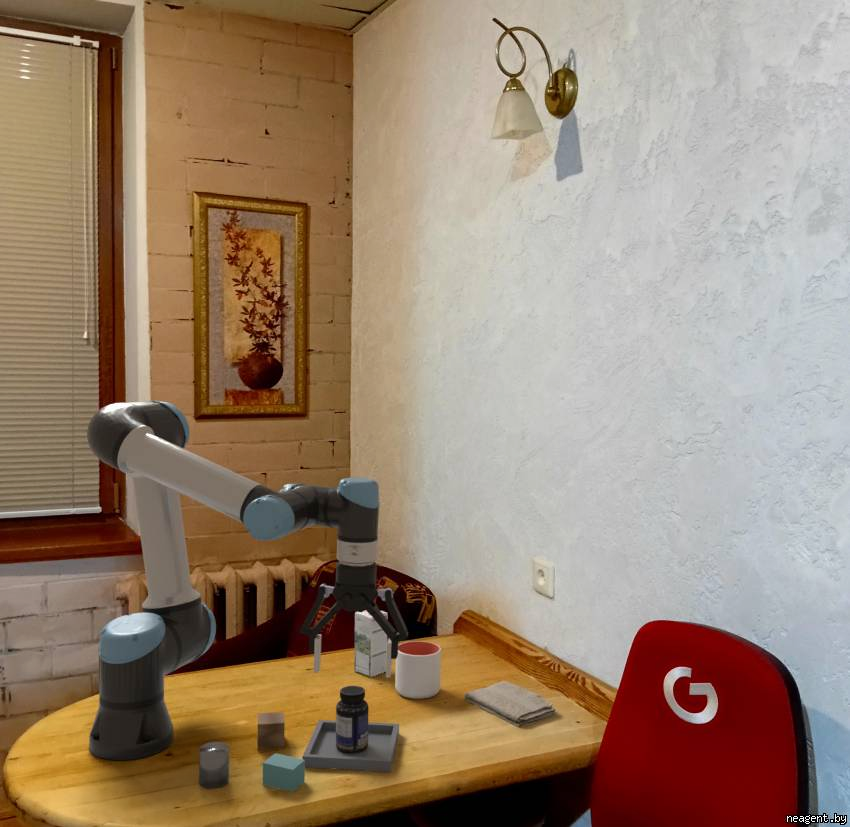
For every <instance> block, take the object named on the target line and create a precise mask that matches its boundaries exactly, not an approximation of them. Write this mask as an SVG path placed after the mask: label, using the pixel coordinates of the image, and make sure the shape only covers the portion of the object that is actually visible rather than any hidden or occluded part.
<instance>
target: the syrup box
mask: <svg viewBox="0 0 850 827" xmlns="http://www.w3.org/2000/svg"><path fill="white" fill-rule="evenodd" d="M380 611H381V612H382V614H383V615H384V616H385V618H386V619H387V620H388V612H386V611H384V610H380ZM354 612H355V613H354V664H353V665H354V672H355V673H358V674H360V675H363V676H365V677H368V678H373V676H374V677H377V676H379V675H378V674H380V675H382V674H384V672H385V673H386V662H387V642H388V636H387V635H386V634H385V632H384V631H383V630H382V628H381V627H380V626H379V625H378V623H377V622H376V621H375V619H374V618H373V617H372V616H371V615H370V614H369V613H368V612H367V610H365V611H363V612H357V611H354ZM381 673H382V674H381ZM376 675H377V676H376Z"/></svg>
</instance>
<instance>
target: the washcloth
mask: <svg viewBox="0 0 850 827" xmlns="http://www.w3.org/2000/svg"><path fill="white" fill-rule="evenodd" d="M463 697H464V698H463V700H466V701H465V702H467V701H468V702H467V703H469V702H470V703H469V704H471V703H473V704H474V705H473V704H472V705H473V706H475V705H476V706H475V707H477V706H478V707H477V708H479V707H480V708H479V709H481V710H483V711H485V712H487V713H489V714H491V713H492V714H491V715H493V714H494V715H493V716H495V715H496V716H495V717H497V718H499V717H500V719H501V718H502V719H501V720H503V721H505V722H507V723H509V724H511V725H513V726H514V727H517V728H519V727H520V726H529V725H532V724H535V723H538V722H540V721H544V720H547V719H549V718H552V717H554V716H556V714H557V712H556V709H555V708H554V707H553V703H552V702H550V701H547V700H546V699H544V698H543V697H542V696H541V695H540V694H539V693H535V692H532V691H529V690H528V689H525V688H524V687H521V686H518V685H516V684H513V683H511V682H509V681H504V680H503V681H499V682H496V683H493V684H491V685H489V686H487V687H481V688H479V689H475V690H471V691H468V692H466V693H465V694H464V695H463Z"/></svg>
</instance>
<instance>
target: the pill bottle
mask: <svg viewBox="0 0 850 827" xmlns="http://www.w3.org/2000/svg"><path fill="white" fill-rule="evenodd" d="M339 698H340V700H339V701H338V702H337V704H336V706H335V710H336V711H335V712H336V713H335V714H336V715H335V721H336V747H337V749H338V750H339V751H341V752H344V753H357V752H361V751H363V750H365V749H366V748H367V746H368V722H369V704H368V702H367V701H366V700H365V698H366V689H365V688H364V687H363V686H359V685H347V686H343V687H342V688H341V689H340V690H339Z"/></svg>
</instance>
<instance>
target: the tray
mask: <svg viewBox="0 0 850 827" xmlns="http://www.w3.org/2000/svg"><path fill="white" fill-rule="evenodd" d="M399 737H400V724H399V723H388V722H387V723H386V722H369V721H368V746H367V748H366V749H365V750H363V751H361V752H357V753H344V752H341V751H339V750H338V749H337V747H336V720H330V719H328V720H327V719H318V722H317V724H316V726H315V728H314V730H313V732H312V735H311V736H310V739H309V741H308V743H307V746H306V747H305V749H304V752H303V754H302V757H301V759H303V760H305V768H307V767H311V768H310V769H326V768H335V769H334V770H344V769H351V770H350V771H362V770H363V771H366V772H383V773H391V772H392V768H393V767H392V766H393V763H394V759H395V758H394V757H395V755H396V754H395V753H396V749H397V744H398V741H399ZM313 767H314V768H313ZM353 769H354V770H353Z"/></svg>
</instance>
